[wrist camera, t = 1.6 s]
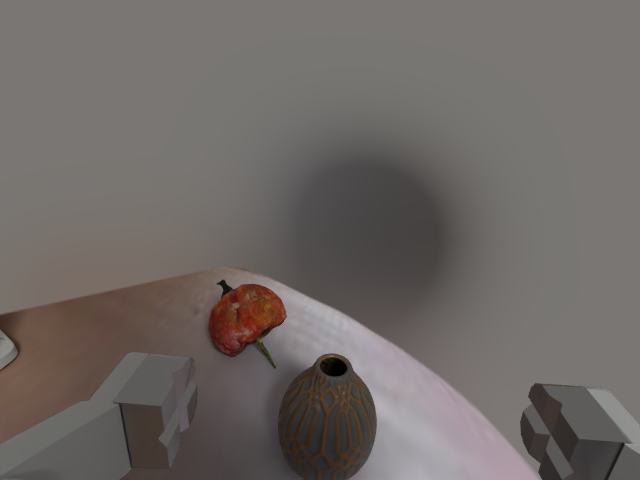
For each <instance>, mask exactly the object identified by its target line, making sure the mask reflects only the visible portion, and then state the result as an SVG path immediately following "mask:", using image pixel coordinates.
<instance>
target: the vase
mask: <svg viewBox="0 0 640 480" xmlns="http://www.w3.org/2000/svg"><path fill="white" fill-rule="evenodd" d="M376 428H377V418H376V410H375V405H374V402H373V398H372V396H371V393H370V391H369V389H368V388H367V386H366V384H365V383H364V382H363V381H362V379H361V378H360V377H359V376H358V375H357V374H356V373H355V372H354V371H353V368H352V366H351V363H350V362H349V361H348V360H347V359H346V358H345V357H343V356H341V355H338V354H325V355H322V356H321V357H319V358H318V359H317V361H316V362H315V363H314V365H313V366H311V367H310V368H308V369H306V370H305V371H303V372H302V373H301V374H299V375H298V376H297V377H296V378H295V379H294V380H293V382H292V383H291V384H290V386H289V388H288V389H287V391H286V393H285V395H284V398H283V400H282V403H281V407H280V411H279V419H278V432H279V440H280V444H281V448H282V451H283V453H284V455H285V458H286V460H287V461H288V463H289V464H290V466H291V467H292V468H293V470H294V471H295V472H296V473H297V474H298V475H300V476H301V477H303V478H304V479H306V480H347V479H349V478H351V477H352V476H353V475H354V474H356V473H357V472H358V471H359V470H360V469H361V467H362V466H363V465H364V463H365V462H366V460H367V459H368V457H369V455H370V453H371V450H372V447H373V444H374V440H375V435H376Z"/></svg>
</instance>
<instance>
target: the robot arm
mask: <svg viewBox="0 0 640 480" xmlns="http://www.w3.org/2000/svg"><path fill="white" fill-rule="evenodd" d="M17 354H18V351H17V349H16V347H15V345H14V343H13V342H12V341H11V340H10V339H9V338H8V337H7V336H6V335H5V334H4V333H3V332H2V331H1V330H0V369H2V368H3V367H4V366H6V365H7V364H8V363H10V362H11V361H12V360H13V359H14V358H15V357H16V356H17ZM194 373H195V364H194V360H193V359H192V358H191V357H182V356H172V355H162V354H148V353H138V352H130V353H128V354H126V355H125V356H124V357H123V359H122V360H121V361H120V362H119V363H118V365H117V366H116V367H115V368H114V370H113V371H112V372H111V373H110V375H109V376H108V377H107V378H106V379H105V381H104V382H103V383H102V384H101V386H100V387H99V388H98V389H97V391H96V392H95V393H94V394H93V395H92V397H91V398H90V399H89V400H88V401H80V402H78V403H76V404H74V405H72V406H71V407H69V408H67V409H65V410H63V411H61V412H59V413H57V414H56V415H54V416H52V417H50V418H48V419H46V420H44V421H42V422H41V423H39V424H37V425H35V426H33V427H31V428H29V429H27V430H26V431H24V432H22V433H20V434H18V435H16V436H14V437H12V438H11V439H9V440H7V441H5V442H3V443H1V444H0V480H120V479H121V478H122V477H123V476H125V475H126V474H127V473H128V472H129V471H130V470H131V467H133V468H152V469H170V468H171V465H172V463H173V461H174V459H175V457H176V454H177V452H178V450H179V448H180V446H181V443H182V442H181V432H182V431H184V430H185V429H187V428H188V427H189V425H190V423H191V421H192V418H193V416H194V412H195V408H196V404H197V385H196V384H195V383H194V382H193V381H192V380H191V379H192V377H193V375H194ZM528 397H529V399H530V401H531V402H532V404H531V405H530V406H529V407H528V408H526V409H525V410H524V411H523V414H522V418H521V421H520V426H521V436H522V439H523V443H524V445H525V447H526V449H527V451H528V453H529V454H530V455H531V456H532V457H533V458H535V459H536V460H537V461H538V462H540V467H539V471H538V473H539V475H540V477H541V479H542V480H640V425H639V424H638V423H637V422H636V421H635V420H634V419H633V417H632V416H631V415H630V414H629V413H628V412H627V411H626V410H625V409H624V407H623V406H622V405H621V404H620V403H619V402H618V401H617V399H616V398H615V397H614V396H613V395H612V394H611V393H610V392H609V391H608V390H606V389H604V388H603V387H591V386H569V385H554V384H540V383H535V384H534V385H533V386H532V387H531V389H530V392H529V395H528Z"/></svg>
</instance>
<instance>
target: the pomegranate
mask: <svg viewBox="0 0 640 480" xmlns="http://www.w3.org/2000/svg"><path fill="white" fill-rule="evenodd" d="M217 284H218V285H219V284H220V285H221V286H222V288H223V293H222V297H221V300H220V301H219V303H218V304H217V305H215V306H214V307H213V308H212V310H211V314H210V318H209V332H210V336H211V338H212V341H213V343H214V345H215V346H216V347H217V348H218V349H219V350H221V351H222V352H224V353H226V354H227V355H230V356H236V355H238V354H239V353H241V352H242V351H243V350H244V349H245V348H246V347H247V345H248V344H252V343H254V342H256V341H257V342H258V344H259V346H260V347H261V349H262V351H263V352H264V353H265V354H266V355H267V357H268V359H269V360H270V362H271V363H272V365H273V367H274V368H276V367H275V365H274V363H273V361H272V359H271V357H270V355H269V353H268V351H267V350H266V348H265V347H264V345H263V343H262V341H261V338H263V337H264V336H266V335H267V334H268V333H269V332H270V331H271V330H272V329H273V328H275V327H276V326H279V325H281V324H282V323H283V322H284V320H285V319H286V317H287V316H286V311H285V308H284V305H283V303H282V300H281V299H280V298H279V297H278V296H277V295H276V294H275V293H274V292H273V291H271V290H270V289H268V288H266V287H264V286H261V285H257V284H244V285H240V286H239V287H238V288H236V289H232V288H231V287H230V286H228V285H227V284H226V282H225V280H222V281H220V282H219V283H217Z"/></svg>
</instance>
